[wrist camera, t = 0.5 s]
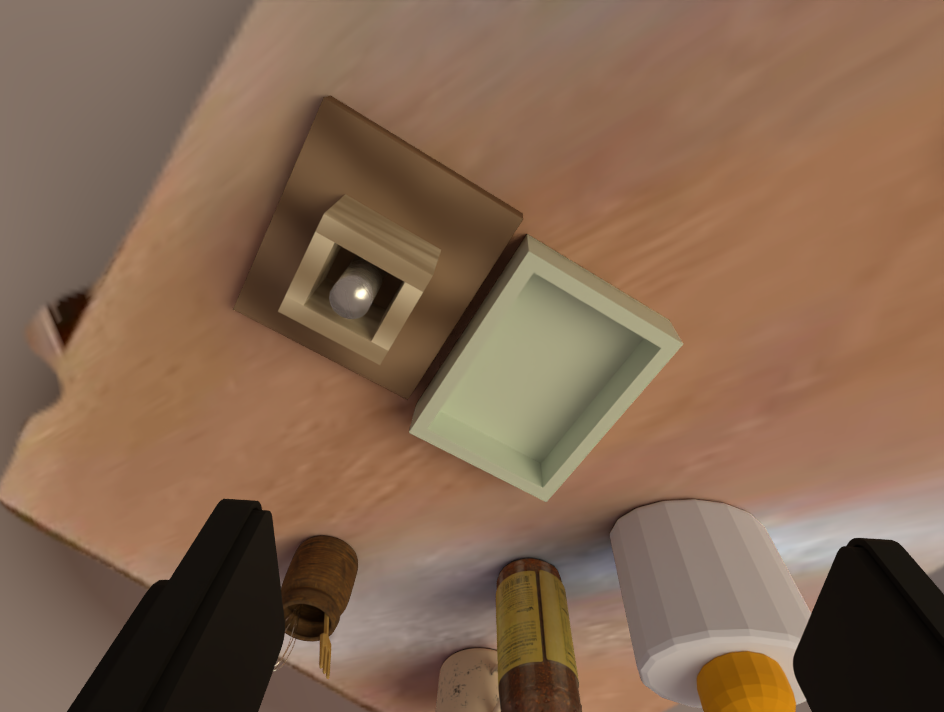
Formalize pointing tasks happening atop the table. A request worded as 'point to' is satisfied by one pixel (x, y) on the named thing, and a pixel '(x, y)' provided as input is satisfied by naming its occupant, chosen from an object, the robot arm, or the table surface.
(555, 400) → the tray
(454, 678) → the teacup with lid
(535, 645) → the sauce bottle
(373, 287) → the cylinder
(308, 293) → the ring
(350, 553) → the utensil holder
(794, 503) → the table surface
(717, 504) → the soap bottle
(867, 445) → the table surface
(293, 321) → the stake board
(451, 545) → the table surface
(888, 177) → the table surface
